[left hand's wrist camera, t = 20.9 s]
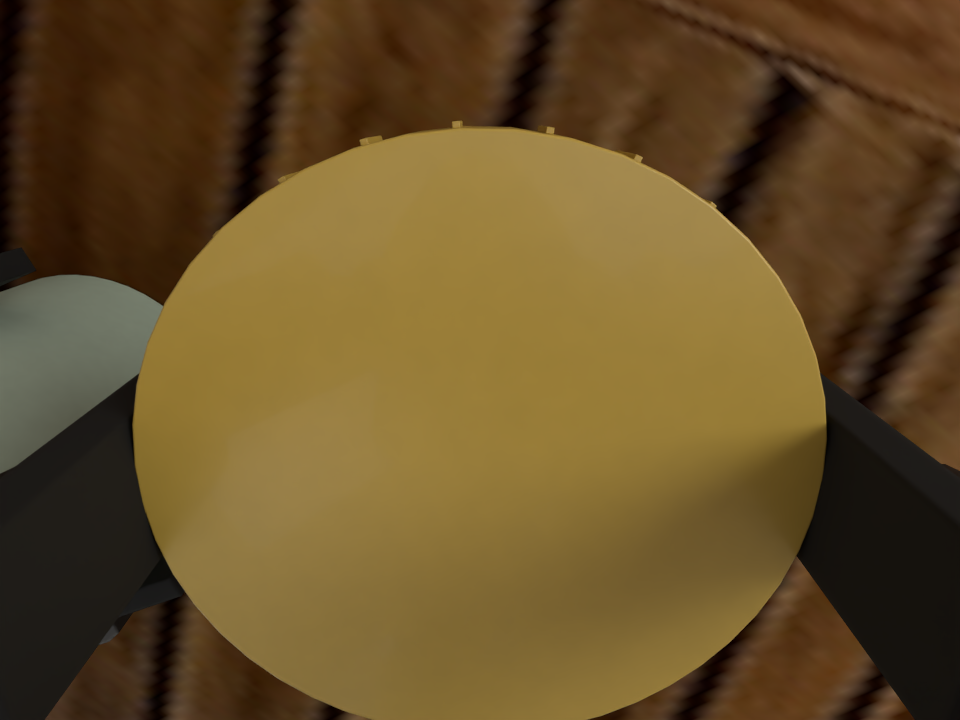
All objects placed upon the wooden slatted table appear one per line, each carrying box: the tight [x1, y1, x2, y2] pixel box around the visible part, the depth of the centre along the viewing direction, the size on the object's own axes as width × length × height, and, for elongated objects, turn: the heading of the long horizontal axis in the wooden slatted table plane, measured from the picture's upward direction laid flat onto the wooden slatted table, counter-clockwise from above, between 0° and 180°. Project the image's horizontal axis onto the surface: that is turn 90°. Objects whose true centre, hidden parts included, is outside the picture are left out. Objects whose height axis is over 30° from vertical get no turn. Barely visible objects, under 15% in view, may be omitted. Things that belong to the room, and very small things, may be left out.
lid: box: [132, 121, 827, 720], centre depth 11 cm, size 11×11×2 cm
